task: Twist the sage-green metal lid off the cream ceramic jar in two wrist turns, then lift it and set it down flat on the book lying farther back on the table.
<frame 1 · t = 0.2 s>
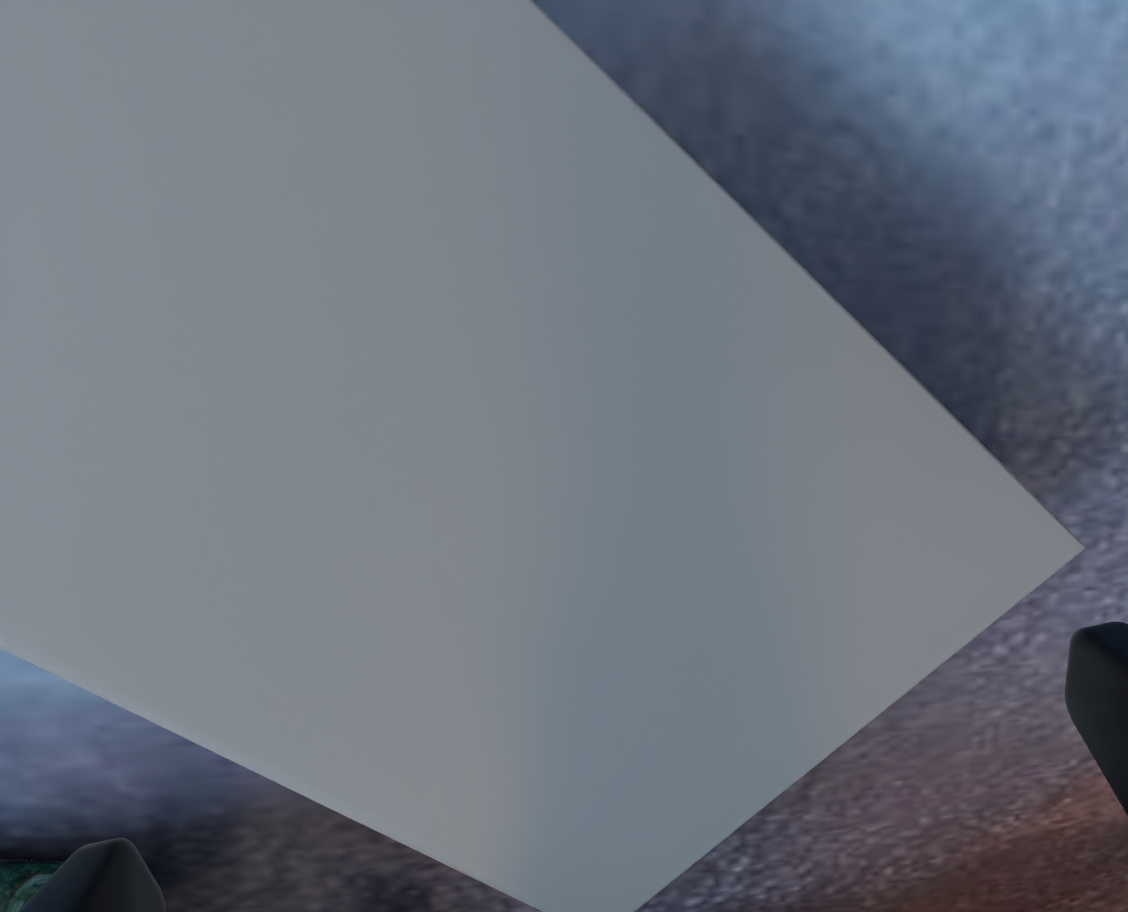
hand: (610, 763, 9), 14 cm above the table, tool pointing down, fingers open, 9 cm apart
book: (449, 456, 23), on the table
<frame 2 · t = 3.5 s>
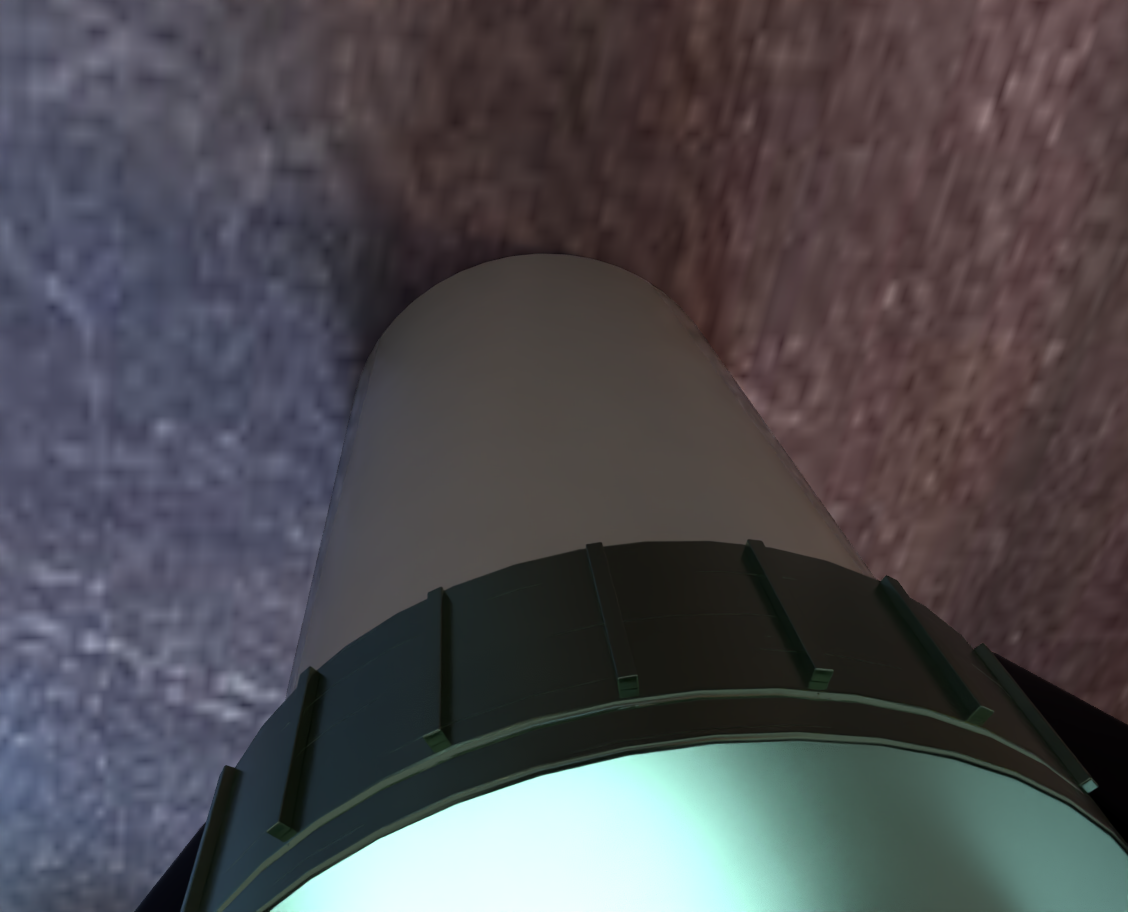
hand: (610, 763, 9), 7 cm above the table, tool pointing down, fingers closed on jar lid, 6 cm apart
jar: (541, 437, 15), on the table
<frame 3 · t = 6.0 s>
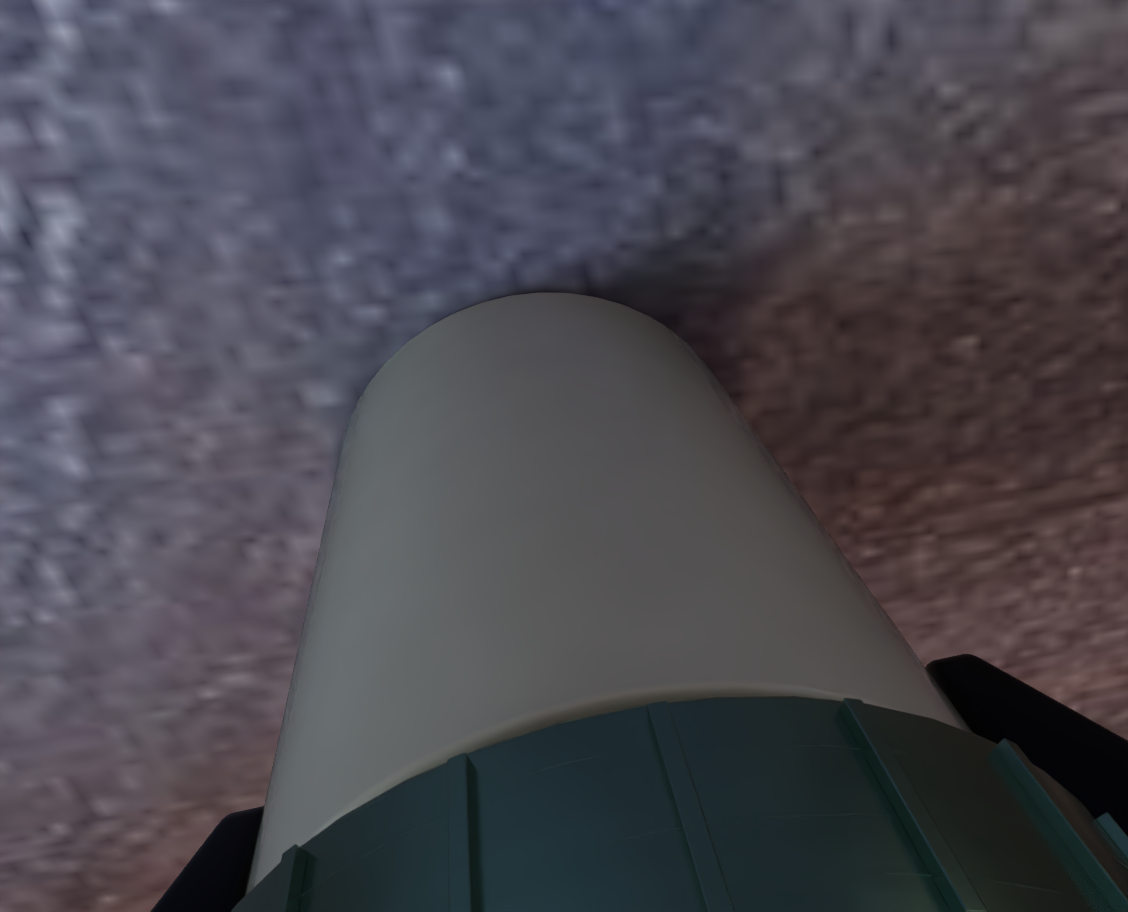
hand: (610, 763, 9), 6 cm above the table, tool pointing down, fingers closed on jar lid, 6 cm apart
jar: (543, 486, 14), on the table, touching gripper
when the fingers open (4 cm above the table, at t = 8.2 s): jar lid stays where it is, point 10 cm above the table.
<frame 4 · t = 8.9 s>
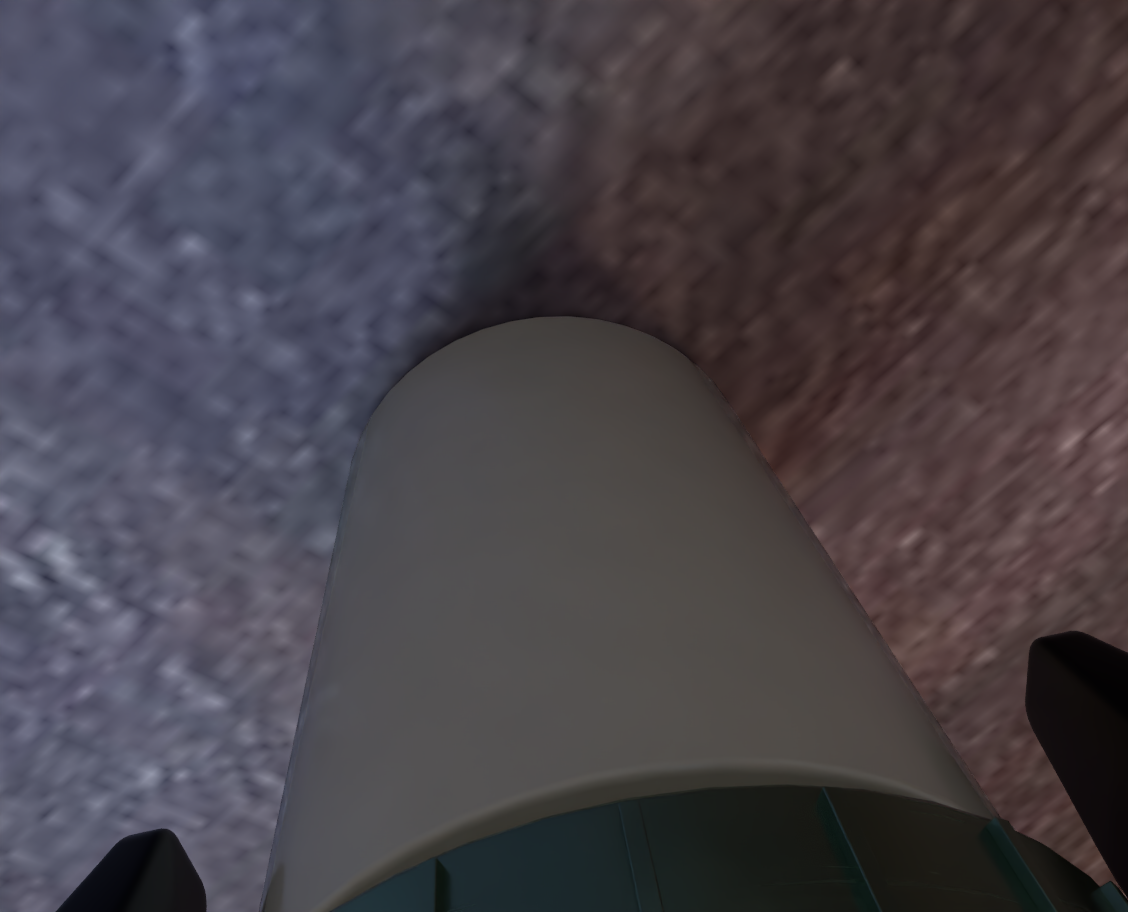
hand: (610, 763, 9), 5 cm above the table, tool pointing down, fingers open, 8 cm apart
jar: (552, 507, 14), on the table
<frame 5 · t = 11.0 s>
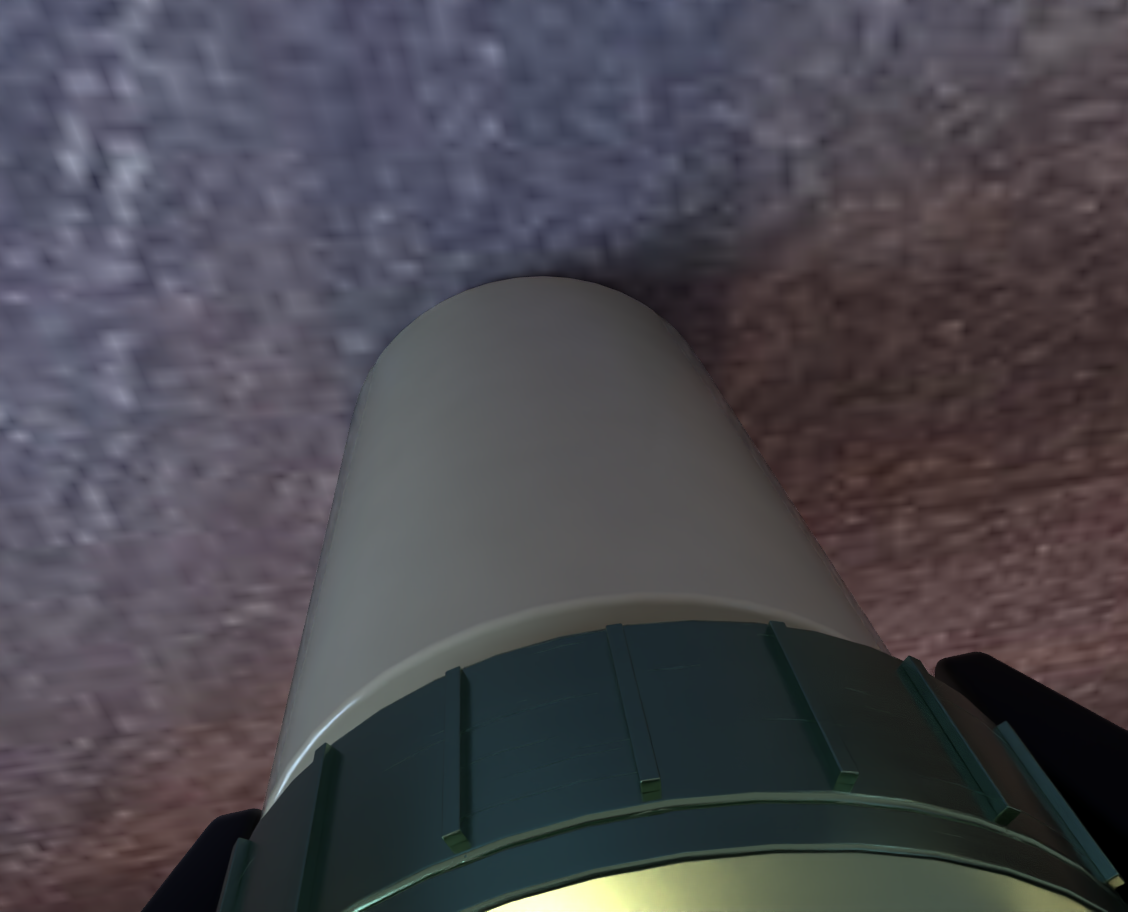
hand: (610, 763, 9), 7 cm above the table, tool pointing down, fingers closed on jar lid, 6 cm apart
jar: (537, 455, 15), on the table, touching gripper
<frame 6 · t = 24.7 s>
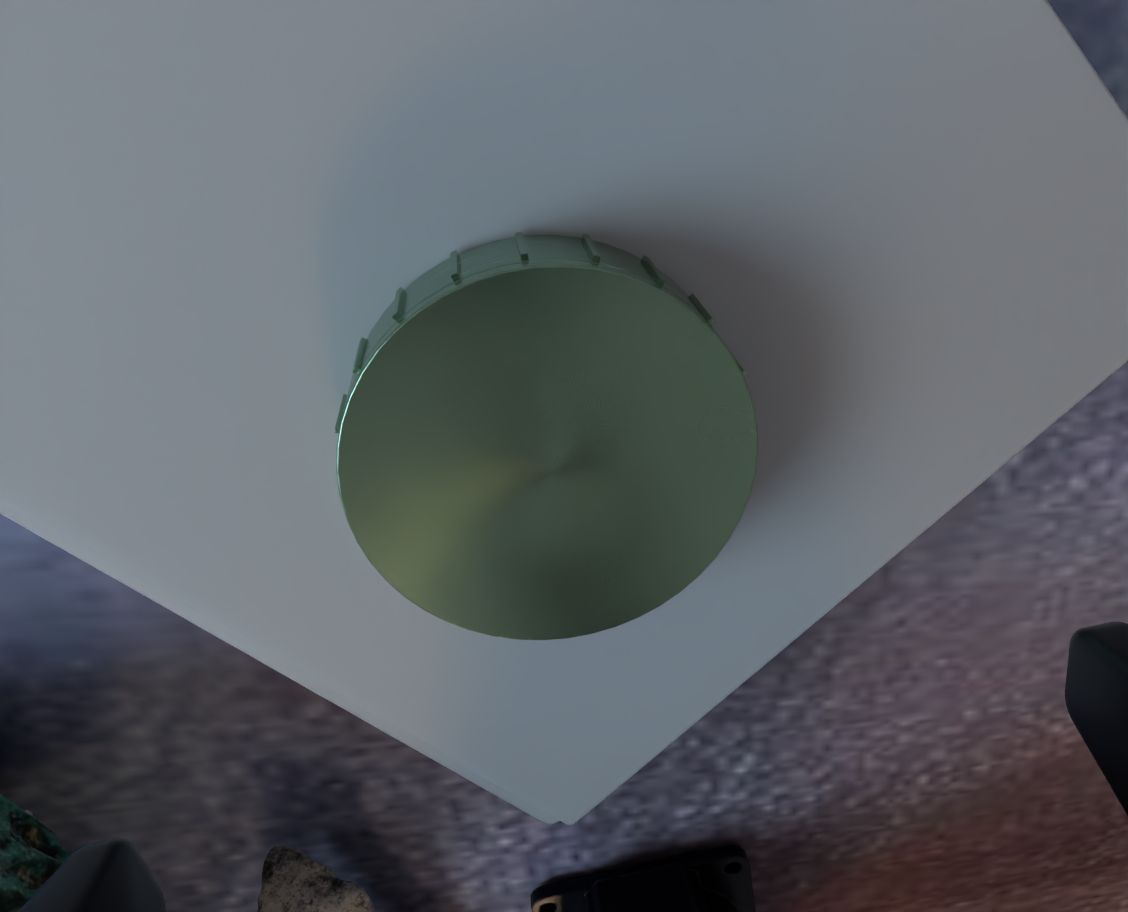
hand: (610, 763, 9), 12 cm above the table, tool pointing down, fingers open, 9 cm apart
book: (375, 156, 17), on the table, touching jar lid
jar lid: (550, 463, 15), point 5 cm above the table, off its thread, touching book
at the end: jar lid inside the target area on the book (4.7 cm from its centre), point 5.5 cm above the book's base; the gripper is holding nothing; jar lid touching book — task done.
